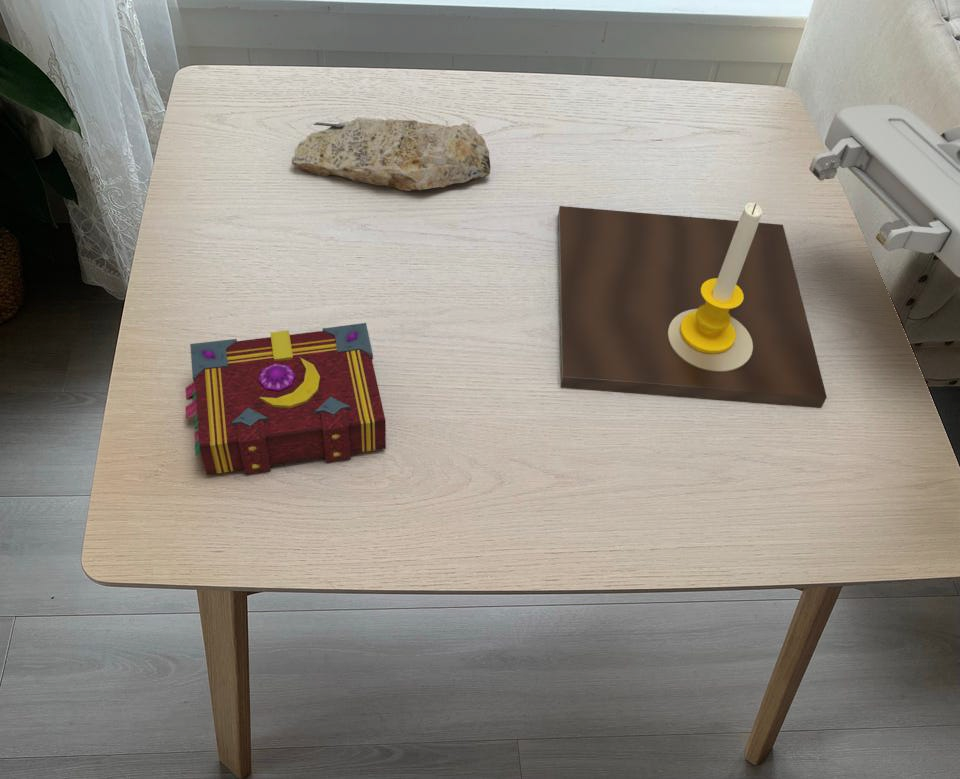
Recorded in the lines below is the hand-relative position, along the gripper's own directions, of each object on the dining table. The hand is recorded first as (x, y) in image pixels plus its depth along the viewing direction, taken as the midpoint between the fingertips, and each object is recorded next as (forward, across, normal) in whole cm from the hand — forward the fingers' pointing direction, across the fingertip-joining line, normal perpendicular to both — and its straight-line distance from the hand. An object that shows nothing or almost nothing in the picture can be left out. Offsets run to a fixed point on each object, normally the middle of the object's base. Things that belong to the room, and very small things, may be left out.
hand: (848, 201), depth 78 cm
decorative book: (+47, -6, +18) cm, 51 cm away
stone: (+28, -37, +18) cm, 49 cm away
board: (+7, -8, +18) cm, 20 cm away
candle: (+8, -2, +16) cm, 18 cm away
